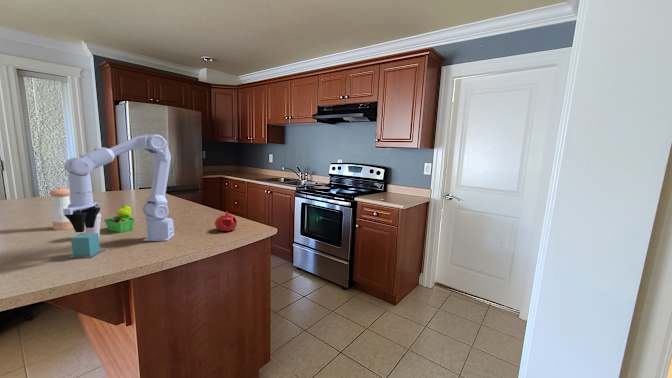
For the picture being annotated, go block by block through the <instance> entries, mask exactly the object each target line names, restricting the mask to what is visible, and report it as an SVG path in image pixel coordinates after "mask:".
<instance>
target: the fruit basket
mask: <svg viewBox="0 0 672 378" xmlns="http://www.w3.org/2000/svg"><path fill="white" fill-rule="evenodd" d="M130 206H131V205H128V204H124V205H123V206H122V207H121V208H119V209H118V210H117V211H116V215H117V216H113V217H110V218H106V219H104V220H103V221H104V222H105V225H106V227H107V229H108V231H112V232H116V233H125V232H129V231H133V230H134V229H133V228H134V224H135V221H136V218H133V217H131V216H132V207H130Z"/></svg>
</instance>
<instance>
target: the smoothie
mask: <svg viewBox="0 0 672 378" xmlns="http://www.w3.org/2000/svg"><path fill="white" fill-rule="evenodd" d="M101 219H102V214H101V213H99V212H98V214H97V217H96V220H95V225H94V227H93V228H86V226H85V221H84V230H85V232H86V233H98V235H99V236H100V232H101V222H102V221H101Z"/></svg>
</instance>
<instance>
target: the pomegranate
mask: <svg viewBox="0 0 672 378" xmlns="http://www.w3.org/2000/svg"><path fill="white" fill-rule="evenodd" d="M237 226H238V221H237V219H236V217H235V216H234V215H232V214H231V213H229V212H228V210H227V211H225V214H222V213H221V214H218V217H217V218H216V220H215V222H214V227H215V229H216V230H217V231H220V232H222V231H228V232H232V231H234V230H235V229H236V228H237ZM231 230H232V231H231Z"/></svg>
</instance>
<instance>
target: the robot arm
mask: <svg viewBox="0 0 672 378" xmlns="http://www.w3.org/2000/svg"><path fill="white" fill-rule="evenodd" d="M168 143H169V142H168V140H167V139H165V138H164V137H163V135H161V134H141V135H138V136H135V137H132V138H130V139H128V140H125V141H123V142H121V143H119V144H117V145H114V146H112V147H110V148H108V147H99V146H97V147H94V148H93V149H94V150H92V151H90V152H89V151H88V152H86V153H80V154H78V155H79V157H71V158H69V159H68V160H67V161H66V162H65V165H64V168H65V170H66V171H67V172H68V185H69V187H68V188H69V190H70V195H69V198H70V205H68V207H67V208H65V209H63V212H64V215H65V217H67V218H68V220H69V221H70V222H71V224H72V225H73V228H72V229H74V233H83V232H84V231H85V226H86V228H93V227H94V225H95V220H96V217H97V214H98V213H99V212H100V211H101V207H99V206H101V205H100V204H101V203H100V200H94V197H93V187H92V185H93V184H92V179H91V178H92V177H91V173H92V172H93V170H96V169H98V168H100V167H102V166H103V167H104V166H105V165H107V164H110V163H112V162H114V160H115V158H116V157H117V156H119V155H122V154H125V153H128V152H130V151H134V150H136V149H143V150H145V151H146V152H147V151H148V153H150V154H151V155H152V156H153V157H154V158H155V161H154V162H155V163H154V170H153V174H152V175H153V176H152V182H151V188H150V194H149V196H148V197H147V198H146V202H145V204H144V205H143V207H142V211H143V213H144V215H146V217H145V221H146V222H145V223H146V237H145V238H144V239H143V240H142V241H143V242H157V241H158V242H161V241H162V242H163V241H165V242H166V241H169V240H170V239H171V238H173V237H174V236H175V229H174V228H175V227H174V219H172V218H171V217H167V216H168V215H169V212H170V211H169V210H170V209H169V207H168V204H169V202H168V200H167V198H166V193H167V185H168V181H169V180H168V179H169V174H170V173H169V172H170V166H171V161H172V160H171V159H172V155H171V152H170V148H169V147H168ZM84 221H85V225H84ZM84 233H85V232H84Z"/></svg>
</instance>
